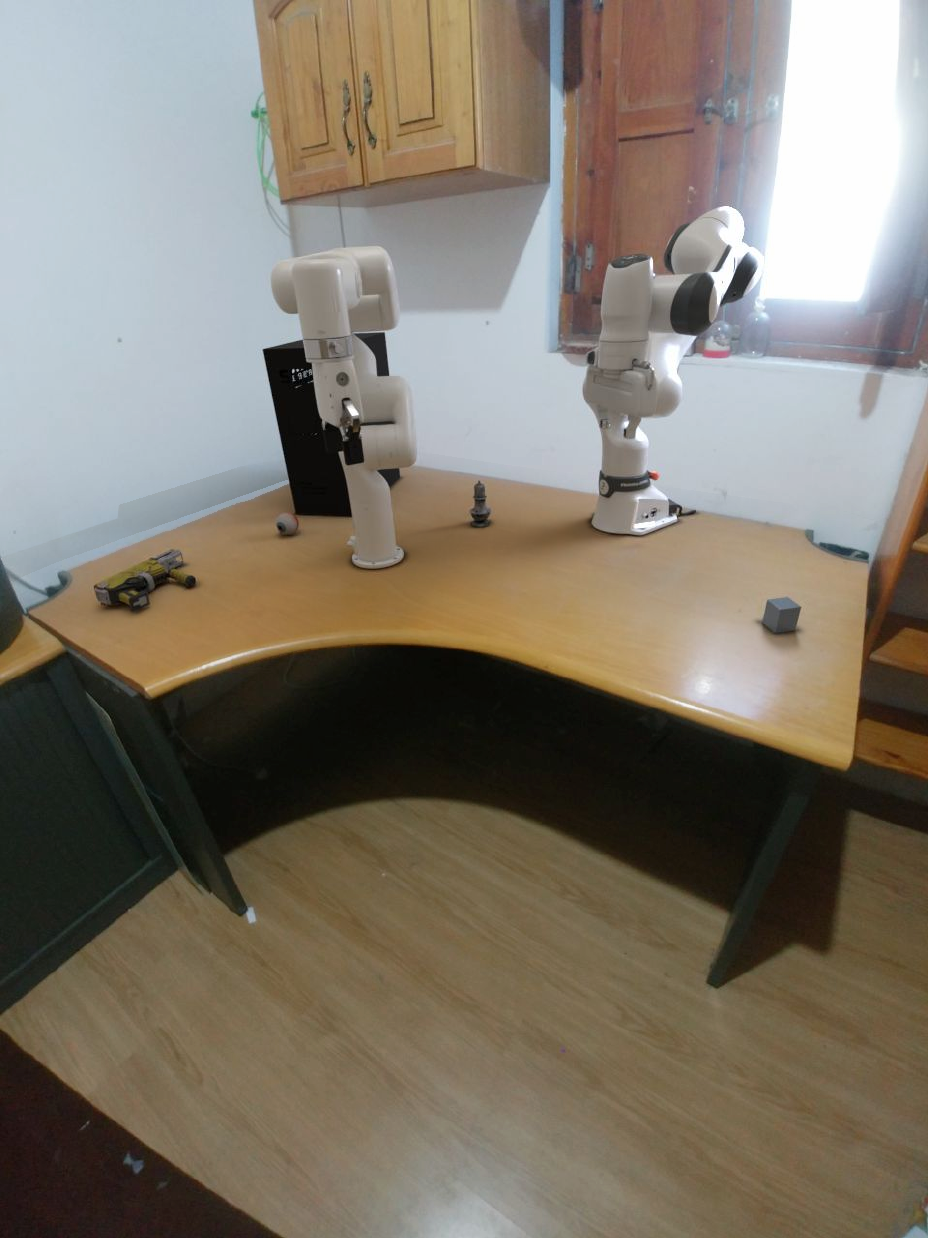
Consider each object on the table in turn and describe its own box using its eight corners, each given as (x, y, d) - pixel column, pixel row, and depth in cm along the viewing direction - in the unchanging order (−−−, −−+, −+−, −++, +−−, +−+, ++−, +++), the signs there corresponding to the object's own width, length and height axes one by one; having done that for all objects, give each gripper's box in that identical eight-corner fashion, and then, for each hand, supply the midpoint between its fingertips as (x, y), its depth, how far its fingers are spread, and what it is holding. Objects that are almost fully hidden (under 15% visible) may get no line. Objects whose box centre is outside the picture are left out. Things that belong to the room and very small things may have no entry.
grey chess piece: (489, 527, 162) (488, 483, 156) (468, 526, 163) (466, 483, 157) (493, 519, 167) (491, 476, 161) (472, 518, 168) (470, 476, 162)
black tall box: (359, 516, 174) (334, 346, 152) (295, 513, 179) (262, 349, 156) (400, 477, 206) (384, 331, 183) (345, 476, 210) (323, 334, 188)
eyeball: (273, 537, 164) (268, 516, 161) (287, 528, 169) (282, 508, 166) (291, 539, 161) (286, 518, 158) (305, 530, 166) (301, 510, 163)
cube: (774, 633, 110) (780, 609, 107) (761, 622, 113) (767, 599, 111) (795, 630, 110) (801, 606, 108) (781, 619, 114) (787, 596, 111)
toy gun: (219, 557, 146) (169, 546, 150) (142, 598, 126) (87, 585, 129) (222, 574, 148) (172, 563, 152) (147, 618, 128) (92, 604, 132)
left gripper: (371, 351, 90) (384, 464, 99) (334, 343, 104) (348, 444, 112) (322, 356, 87) (341, 473, 96) (290, 348, 101) (309, 451, 109)
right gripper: (670, 361, 104) (660, 442, 110) (610, 350, 121) (605, 422, 127) (638, 364, 102) (630, 446, 109) (581, 353, 119) (578, 425, 126)
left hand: (345, 457), depth 104 cm, fingers open, 9 cm apart
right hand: (616, 433), depth 118 cm, fingers open, 8 cm apart
